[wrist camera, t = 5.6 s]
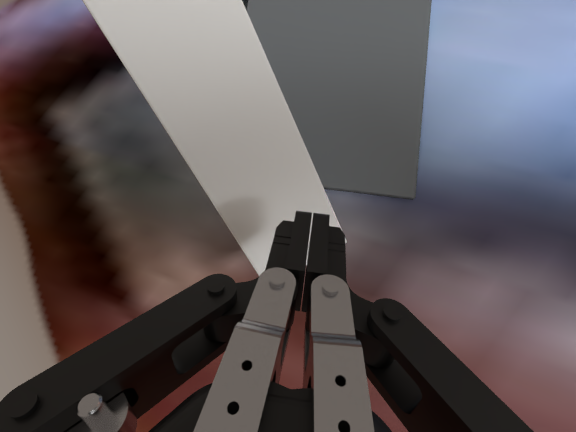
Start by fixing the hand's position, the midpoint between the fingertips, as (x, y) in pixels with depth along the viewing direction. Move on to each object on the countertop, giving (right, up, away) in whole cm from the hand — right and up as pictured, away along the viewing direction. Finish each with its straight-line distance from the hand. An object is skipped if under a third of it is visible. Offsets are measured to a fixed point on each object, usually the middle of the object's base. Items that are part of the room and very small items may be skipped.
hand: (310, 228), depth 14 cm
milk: (0, -2, +8) cm, 9 cm away
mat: (+3, +14, +13) cm, 19 cm away
